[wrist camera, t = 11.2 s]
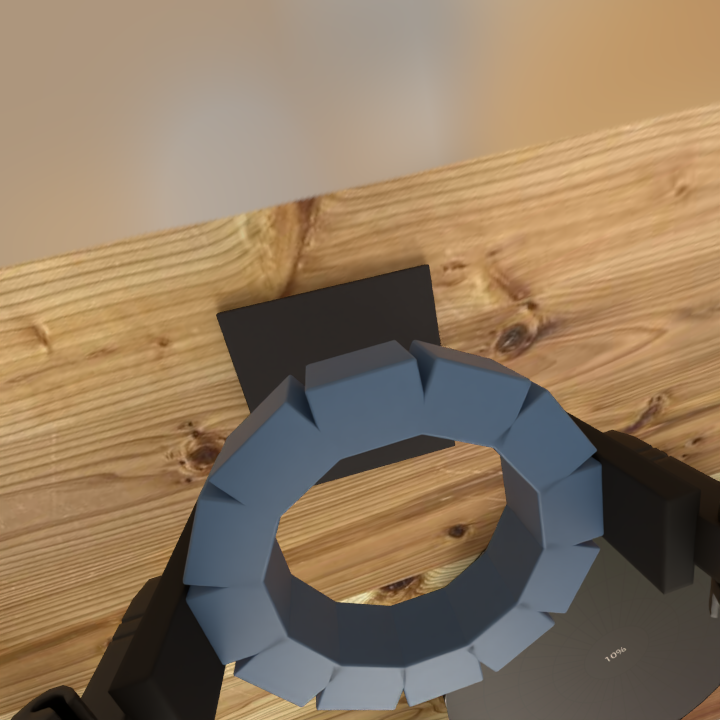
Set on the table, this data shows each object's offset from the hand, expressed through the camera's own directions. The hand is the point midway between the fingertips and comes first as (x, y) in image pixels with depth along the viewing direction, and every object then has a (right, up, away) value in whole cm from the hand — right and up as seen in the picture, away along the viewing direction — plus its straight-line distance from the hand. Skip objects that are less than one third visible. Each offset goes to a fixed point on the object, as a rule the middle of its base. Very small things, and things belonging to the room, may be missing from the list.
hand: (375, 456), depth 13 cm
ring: (+1, -1, -3) cm, 3 cm away
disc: (+20, -20, +18) cm, 33 cm away
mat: (-1, +2, +8) cm, 8 cm away
